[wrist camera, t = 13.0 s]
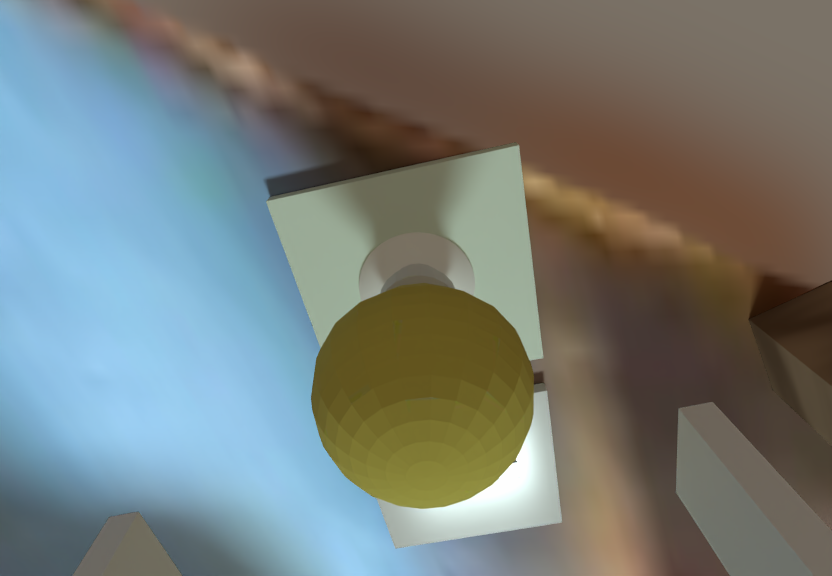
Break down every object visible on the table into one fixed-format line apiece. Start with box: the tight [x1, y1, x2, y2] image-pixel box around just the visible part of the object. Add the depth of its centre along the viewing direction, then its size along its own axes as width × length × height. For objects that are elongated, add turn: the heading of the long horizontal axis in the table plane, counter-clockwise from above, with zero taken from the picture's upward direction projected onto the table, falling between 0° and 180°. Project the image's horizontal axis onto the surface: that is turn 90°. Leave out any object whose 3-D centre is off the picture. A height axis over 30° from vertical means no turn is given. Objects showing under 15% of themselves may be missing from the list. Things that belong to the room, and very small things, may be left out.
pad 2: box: [377, 383, 562, 549], centre depth 26 cm, size 10×10×1 cm
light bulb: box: [311, 263, 534, 509], centre depth 16 cm, size 7×7×10 cm
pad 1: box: [266, 142, 543, 360], centre depth 21 cm, size 10×10×1 cm
